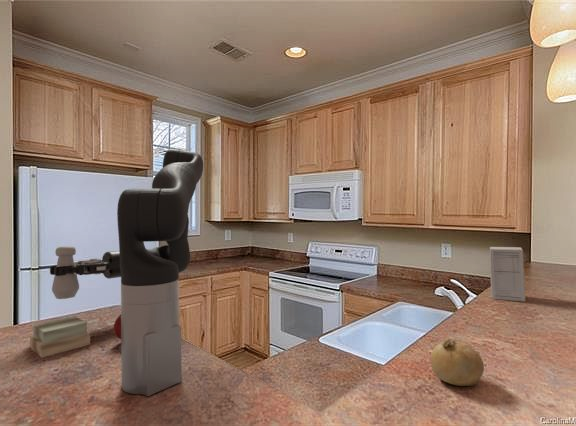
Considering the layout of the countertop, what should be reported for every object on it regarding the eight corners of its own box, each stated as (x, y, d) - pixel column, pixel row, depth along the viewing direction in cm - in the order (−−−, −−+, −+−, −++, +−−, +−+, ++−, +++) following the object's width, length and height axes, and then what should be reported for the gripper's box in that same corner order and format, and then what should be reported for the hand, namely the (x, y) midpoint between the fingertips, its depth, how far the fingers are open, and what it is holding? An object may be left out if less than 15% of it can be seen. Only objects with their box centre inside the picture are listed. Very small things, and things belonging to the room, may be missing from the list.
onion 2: (438, 366, 60) (437, 327, 61) (488, 378, 55) (487, 336, 56) (425, 383, 54) (423, 340, 54) (479, 399, 49) (478, 352, 49)
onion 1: (130, 347, 71) (130, 310, 72) (107, 346, 73) (107, 309, 73) (147, 338, 77) (147, 304, 77) (126, 336, 78) (125, 303, 79)
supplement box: (523, 296, 112) (522, 247, 112) (526, 302, 104) (524, 249, 104) (490, 293, 117) (489, 246, 117) (490, 298, 109) (489, 248, 109)
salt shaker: (56, 301, 79) (56, 247, 80) (48, 298, 83) (48, 247, 83) (83, 296, 84) (82, 245, 84) (74, 293, 88) (73, 245, 88)
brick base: (90, 344, 74) (90, 322, 74) (41, 357, 67) (41, 333, 67) (75, 335, 80) (75, 315, 80) (29, 347, 73) (30, 324, 73)
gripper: (112, 249, 99) (44, 254, 86) (134, 251, 90) (61, 257, 77) (113, 274, 99) (44, 283, 86) (135, 278, 90) (61, 289, 77)
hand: (53, 271), depth 82 cm, fingers closed on salt shaker, 3 cm apart
